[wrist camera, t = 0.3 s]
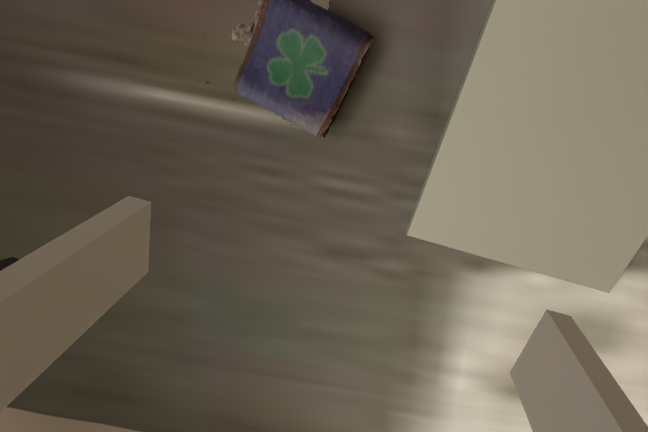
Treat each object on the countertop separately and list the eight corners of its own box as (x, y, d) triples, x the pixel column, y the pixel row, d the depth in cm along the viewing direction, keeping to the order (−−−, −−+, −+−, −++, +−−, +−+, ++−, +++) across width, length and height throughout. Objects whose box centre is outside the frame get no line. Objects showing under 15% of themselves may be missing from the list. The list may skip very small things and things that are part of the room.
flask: (320, 142, 33) (209, 81, 33) (326, 136, 36) (224, 80, 36) (374, 35, 29) (250, -35, 29) (377, 37, 32) (262, -26, 32)
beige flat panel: (510, -49, 29) (516, -53, 28) (777, 21, 29) (793, 19, 27) (406, 229, 39) (406, 235, 38) (602, 285, 38) (609, 292, 37)
